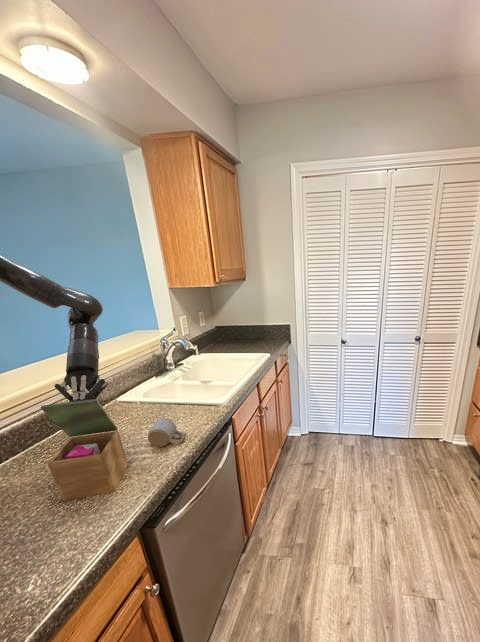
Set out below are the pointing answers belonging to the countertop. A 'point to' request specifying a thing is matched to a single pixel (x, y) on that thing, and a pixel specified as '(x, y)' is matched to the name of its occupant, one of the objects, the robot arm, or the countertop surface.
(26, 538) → the countertop surface
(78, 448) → the supplement box
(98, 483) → the chest
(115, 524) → the countertop surface
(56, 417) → the lid
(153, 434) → the ceramic mug
